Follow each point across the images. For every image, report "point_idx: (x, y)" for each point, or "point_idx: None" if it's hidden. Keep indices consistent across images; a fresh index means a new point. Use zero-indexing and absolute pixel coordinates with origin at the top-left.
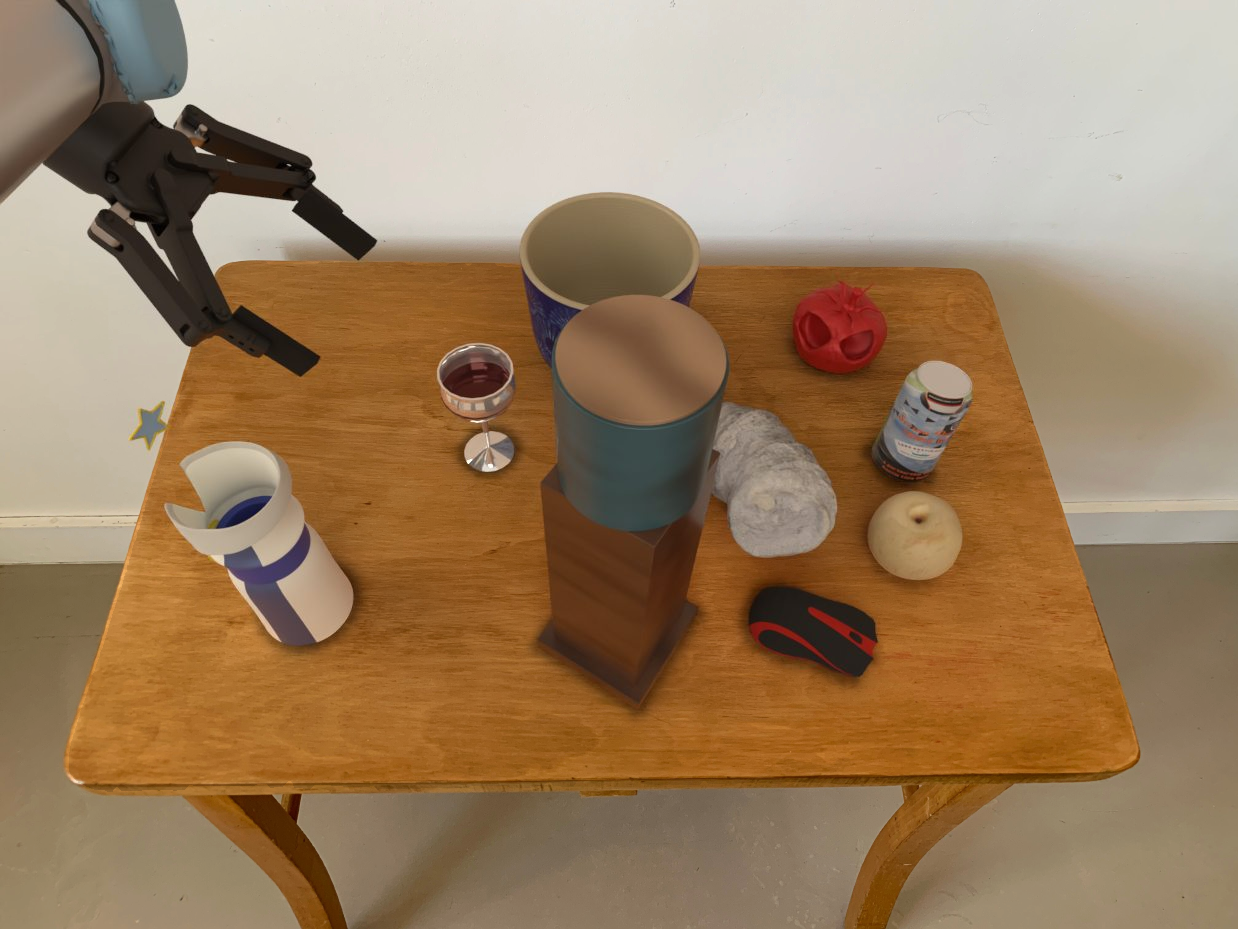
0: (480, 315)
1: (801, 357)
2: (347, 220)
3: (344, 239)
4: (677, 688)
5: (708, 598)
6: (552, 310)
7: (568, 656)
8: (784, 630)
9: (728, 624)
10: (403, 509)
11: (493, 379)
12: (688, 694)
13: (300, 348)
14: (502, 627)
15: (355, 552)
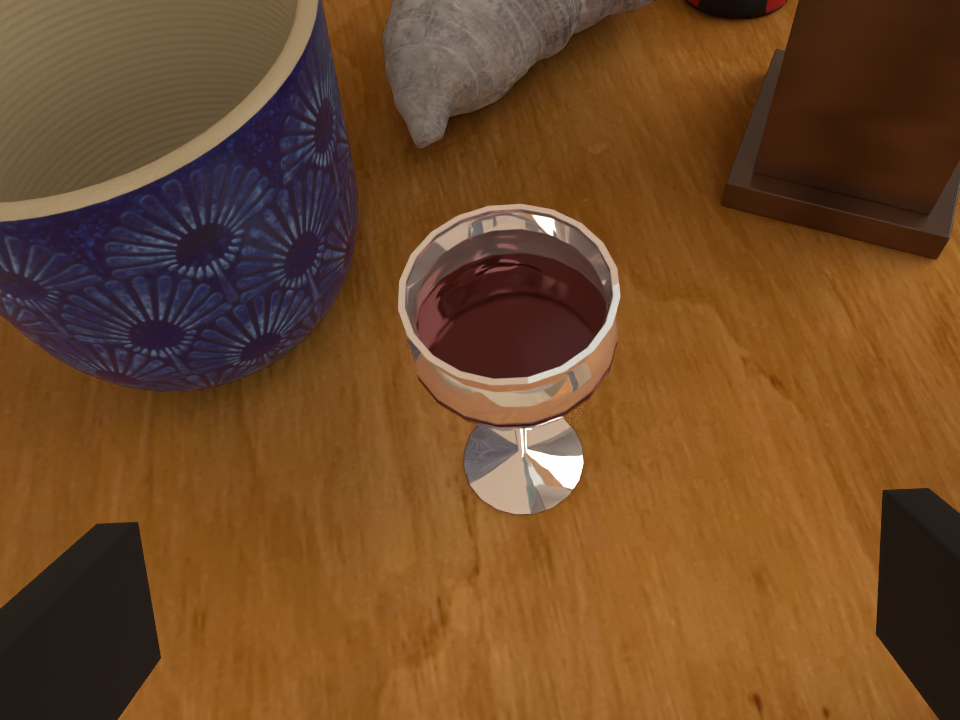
0: None
1: None
2: (21, 608)
3: (96, 672)
4: None
5: (733, 65)
6: (282, 137)
7: (955, 187)
8: None
9: (767, 38)
10: (742, 604)
11: (470, 309)
12: None
13: (954, 527)
14: (929, 323)
15: (905, 681)
